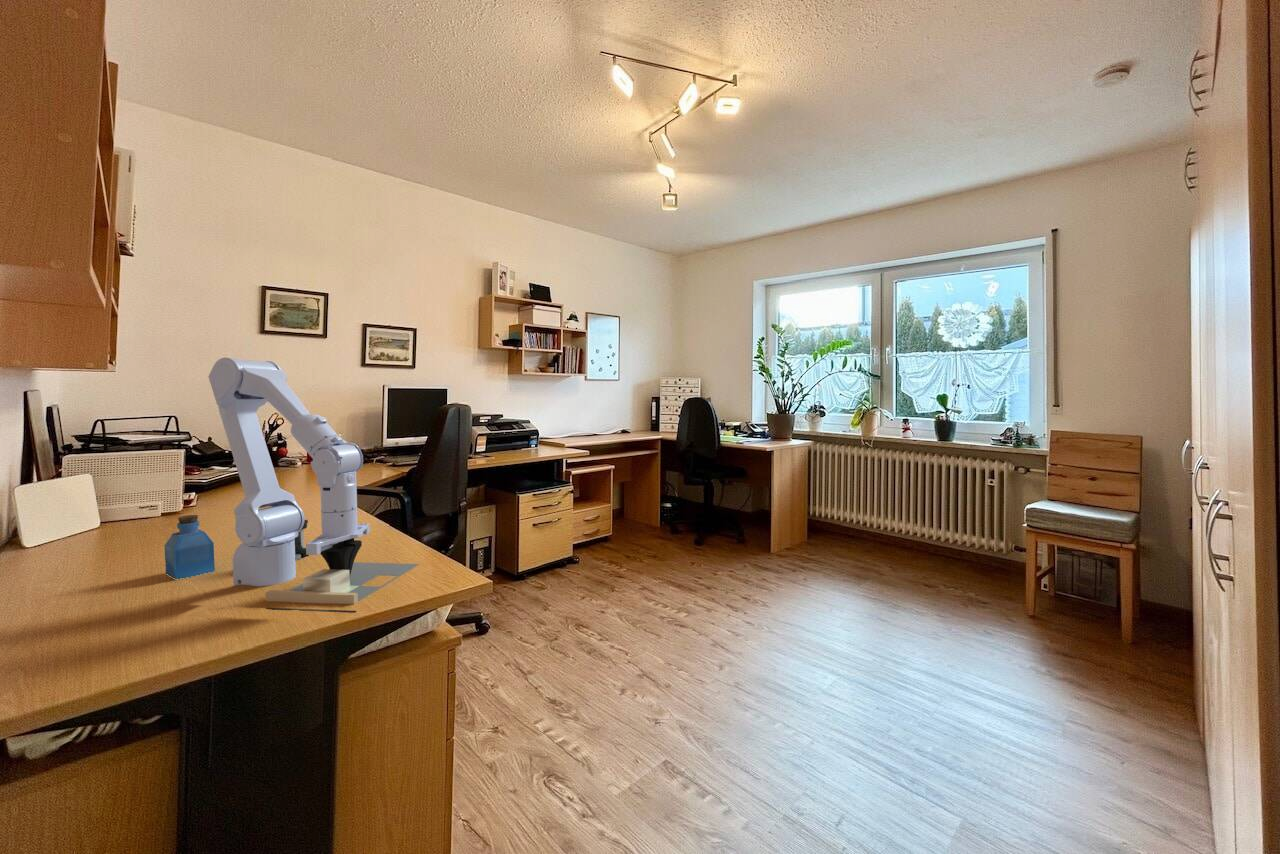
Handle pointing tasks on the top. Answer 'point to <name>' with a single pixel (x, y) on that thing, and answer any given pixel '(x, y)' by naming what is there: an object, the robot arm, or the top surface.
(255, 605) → the top surface
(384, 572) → the board
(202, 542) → the perfume bottle
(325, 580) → the maple block
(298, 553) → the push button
